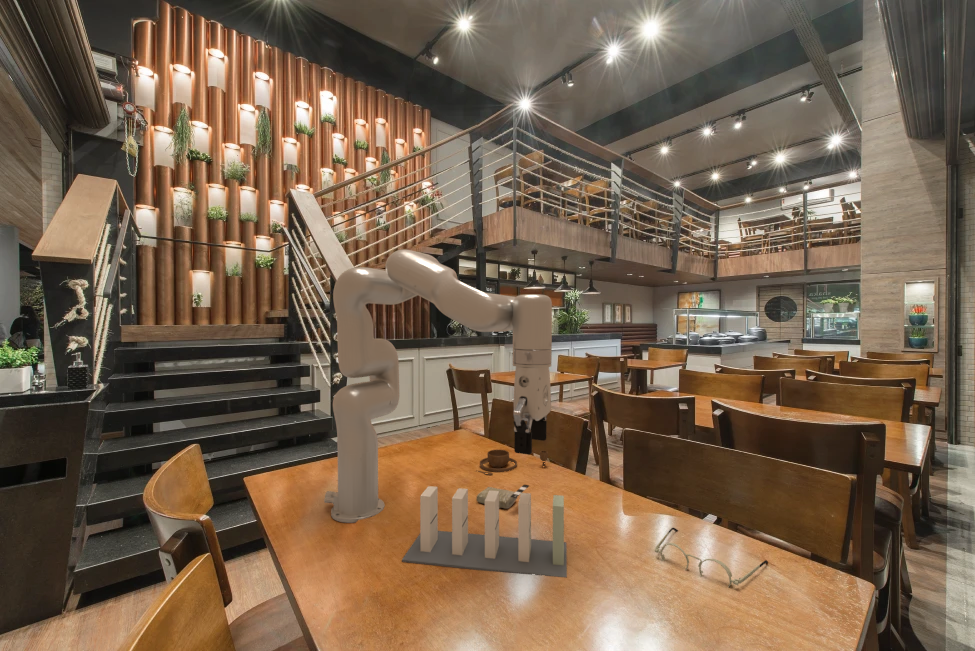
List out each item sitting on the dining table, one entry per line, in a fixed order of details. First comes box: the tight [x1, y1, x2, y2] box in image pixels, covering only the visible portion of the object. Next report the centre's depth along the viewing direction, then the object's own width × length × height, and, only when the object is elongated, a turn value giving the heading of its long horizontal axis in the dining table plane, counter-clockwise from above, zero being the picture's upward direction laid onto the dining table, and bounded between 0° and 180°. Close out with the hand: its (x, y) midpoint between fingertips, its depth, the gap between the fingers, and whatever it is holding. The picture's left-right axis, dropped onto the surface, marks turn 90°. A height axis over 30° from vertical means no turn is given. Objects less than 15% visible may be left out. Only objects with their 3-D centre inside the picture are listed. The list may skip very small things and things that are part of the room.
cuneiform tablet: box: [476, 484, 530, 510], centre depth 105 cm, size 7×4×12 cm
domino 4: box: [517, 492, 532, 562], centre depth 81 cm, size 2×5×11 cm, turn 169°
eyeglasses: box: [654, 527, 768, 588], centre depth 79 cm, size 17×15×5 cm
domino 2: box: [451, 487, 469, 555], centre depth 84 cm, size 2×5×11 cm, turn 169°
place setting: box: [475, 449, 549, 476], centre depth 131 cm, size 18×20×6 cm
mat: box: [401, 530, 568, 578], centre depth 83 cm, size 31×12×1 cm, turn 79°
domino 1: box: [419, 485, 439, 552], centre depth 85 cm, size 2×5×11 cm, turn 169°
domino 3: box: [484, 491, 500, 559], centre depth 83 cm, size 2×5×11 cm, turn 170°
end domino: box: [552, 494, 565, 566], centre depth 80 cm, size 2×5×11 cm, turn 169°
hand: (531, 446), depth 81 cm, fingers open, 9 cm apart
